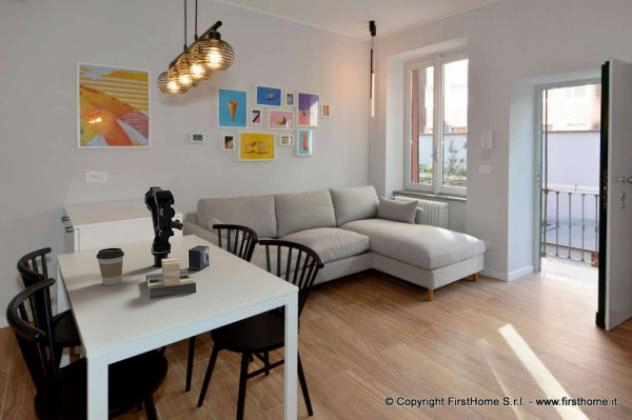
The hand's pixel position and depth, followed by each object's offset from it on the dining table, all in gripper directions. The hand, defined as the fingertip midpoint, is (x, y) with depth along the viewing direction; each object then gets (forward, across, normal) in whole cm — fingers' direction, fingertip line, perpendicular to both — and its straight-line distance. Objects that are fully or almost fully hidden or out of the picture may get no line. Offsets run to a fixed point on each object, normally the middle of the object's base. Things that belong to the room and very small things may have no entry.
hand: (165, 247), depth 196 cm
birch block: (+9, -29, +1) cm, 31 cm away
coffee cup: (+12, -7, +24) cm, 28 cm away
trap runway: (+12, -24, +1) cm, 27 cm away
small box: (+12, 0, -16) cm, 20 cm away
